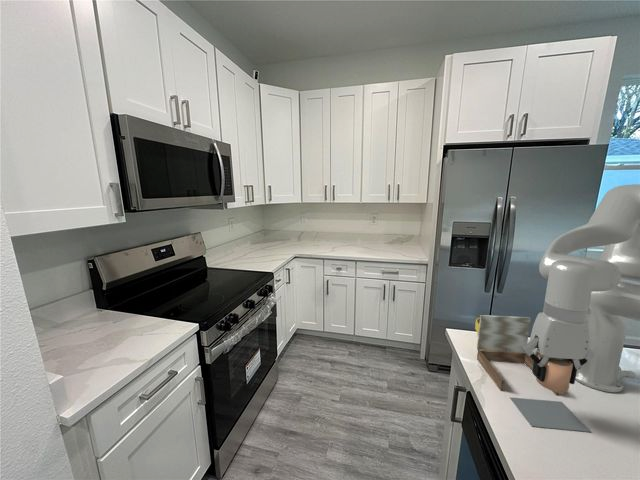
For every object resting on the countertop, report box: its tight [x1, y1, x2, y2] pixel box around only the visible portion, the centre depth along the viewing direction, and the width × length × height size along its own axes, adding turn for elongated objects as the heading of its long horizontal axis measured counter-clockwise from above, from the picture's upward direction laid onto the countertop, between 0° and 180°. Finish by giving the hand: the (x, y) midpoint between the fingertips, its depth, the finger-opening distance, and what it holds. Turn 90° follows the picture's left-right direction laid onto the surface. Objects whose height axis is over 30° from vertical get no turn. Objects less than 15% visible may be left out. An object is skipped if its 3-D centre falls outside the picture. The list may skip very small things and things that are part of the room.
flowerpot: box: [535, 355, 573, 394], centre depth 64 cm, size 6×6×7 cm
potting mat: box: [509, 396, 592, 433], centre depth 66 cm, size 13×9×1 cm
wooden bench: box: [476, 314, 560, 396], centre depth 79 cm, size 15×15×16 cm
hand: (552, 378), depth 64 cm, fingers closed on flowerpot, 6 cm apart
